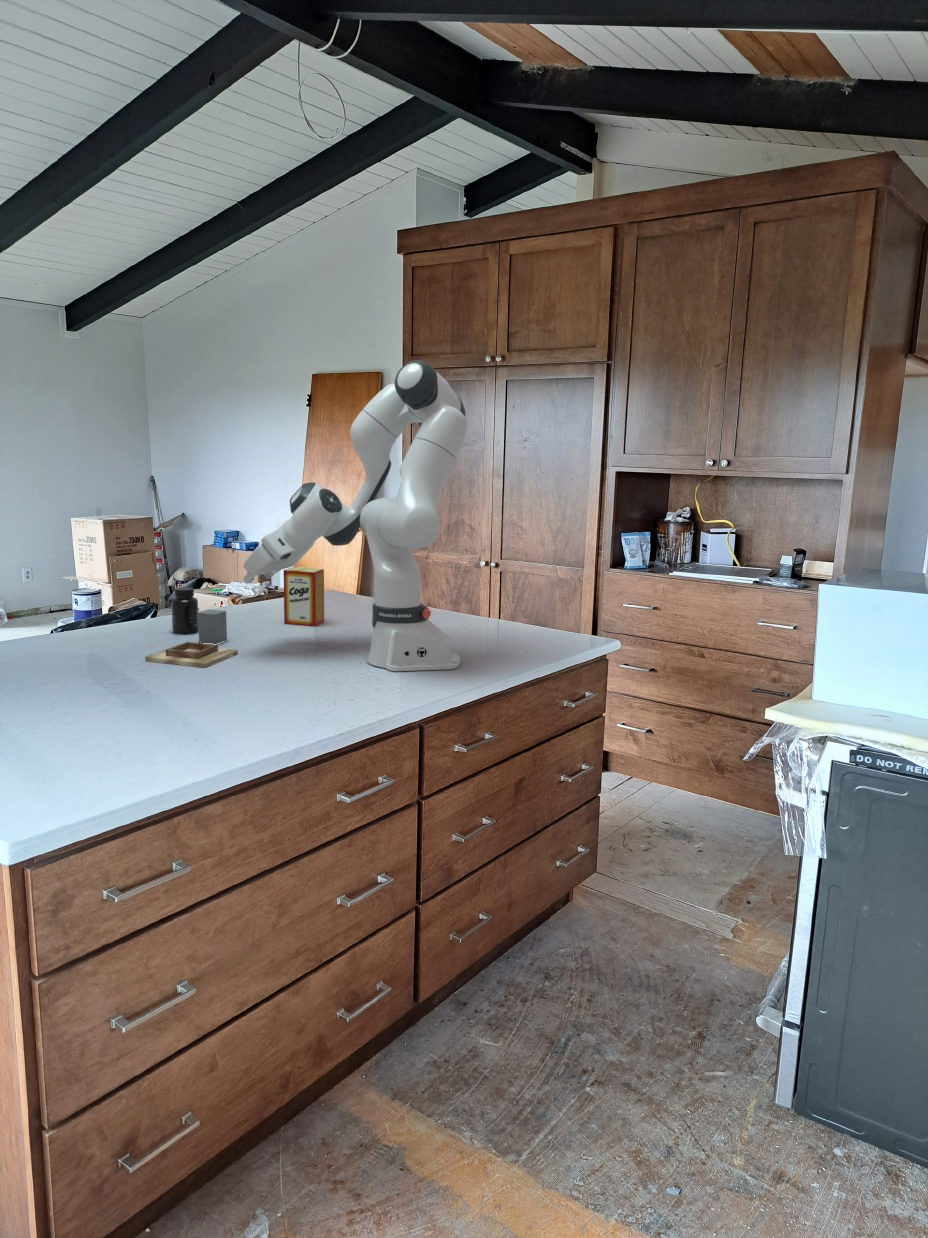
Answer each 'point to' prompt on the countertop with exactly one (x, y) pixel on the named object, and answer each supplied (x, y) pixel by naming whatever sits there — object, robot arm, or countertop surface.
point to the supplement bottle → (184, 611)
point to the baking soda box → (303, 596)
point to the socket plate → (191, 654)
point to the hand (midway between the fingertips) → (256, 578)
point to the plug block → (212, 626)
